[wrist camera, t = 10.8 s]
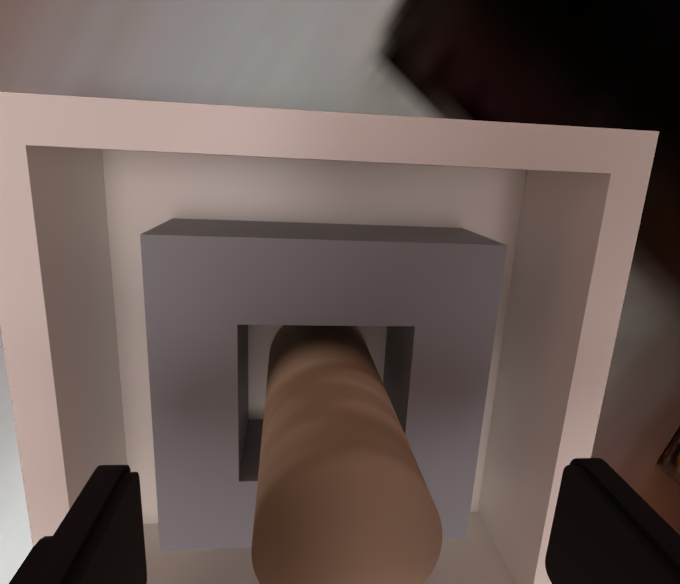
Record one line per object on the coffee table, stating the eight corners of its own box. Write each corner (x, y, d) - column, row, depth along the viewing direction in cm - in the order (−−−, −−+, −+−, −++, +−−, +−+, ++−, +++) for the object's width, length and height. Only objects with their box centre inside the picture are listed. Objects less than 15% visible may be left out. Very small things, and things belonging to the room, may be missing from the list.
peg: (369, 311, 19) (452, 461, 10) (363, 400, 20) (433, 616, 11) (269, 310, 19) (250, 466, 9) (268, 402, 20) (251, 629, 10)
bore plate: (462, 228, 19) (507, 245, 15) (434, 470, 22) (466, 538, 18) (173, 218, 17) (139, 234, 14) (184, 477, 20) (160, 551, 16)
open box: (547, 140, 19) (659, 131, 13) (490, 517, 24) (554, 631, 18) (74, 113, 17) (-35, 89, 11) (113, 531, 22) (50, 664, 16)
